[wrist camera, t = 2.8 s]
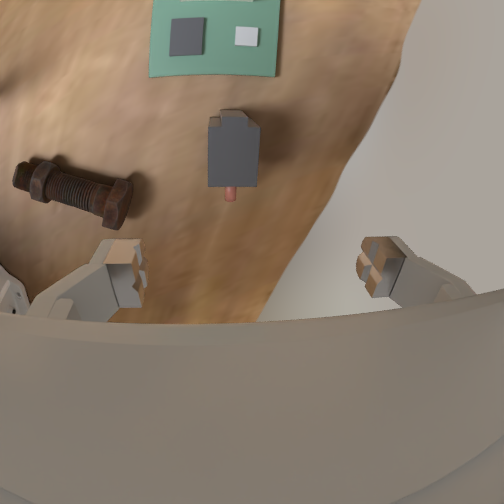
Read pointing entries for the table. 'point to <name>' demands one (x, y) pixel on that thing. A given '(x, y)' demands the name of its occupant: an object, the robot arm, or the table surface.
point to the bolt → (75, 191)
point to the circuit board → (214, 37)
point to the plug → (233, 152)
